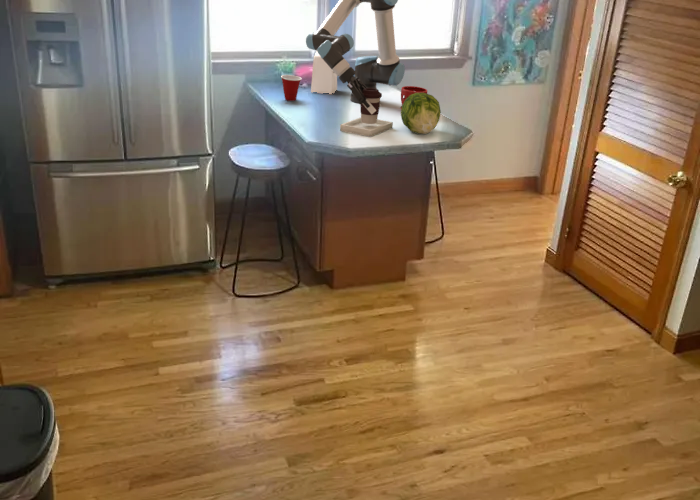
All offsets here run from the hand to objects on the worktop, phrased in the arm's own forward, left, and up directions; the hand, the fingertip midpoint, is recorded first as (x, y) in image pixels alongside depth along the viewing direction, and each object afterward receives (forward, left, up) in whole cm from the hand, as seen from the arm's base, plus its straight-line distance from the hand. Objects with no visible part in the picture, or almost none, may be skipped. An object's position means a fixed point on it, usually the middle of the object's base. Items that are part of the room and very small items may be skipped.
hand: (376, 110), depth 329 cm
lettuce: (-10, +18, -9) cm, 23 cm away
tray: (+3, -3, -9) cm, 10 cm away
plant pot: (-43, -3, -9) cm, 44 cm away
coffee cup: (+1, -3, -6) cm, 7 cm away
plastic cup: (-23, -64, -9) cm, 68 cm away
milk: (-53, -63, -9) cm, 83 cm away
